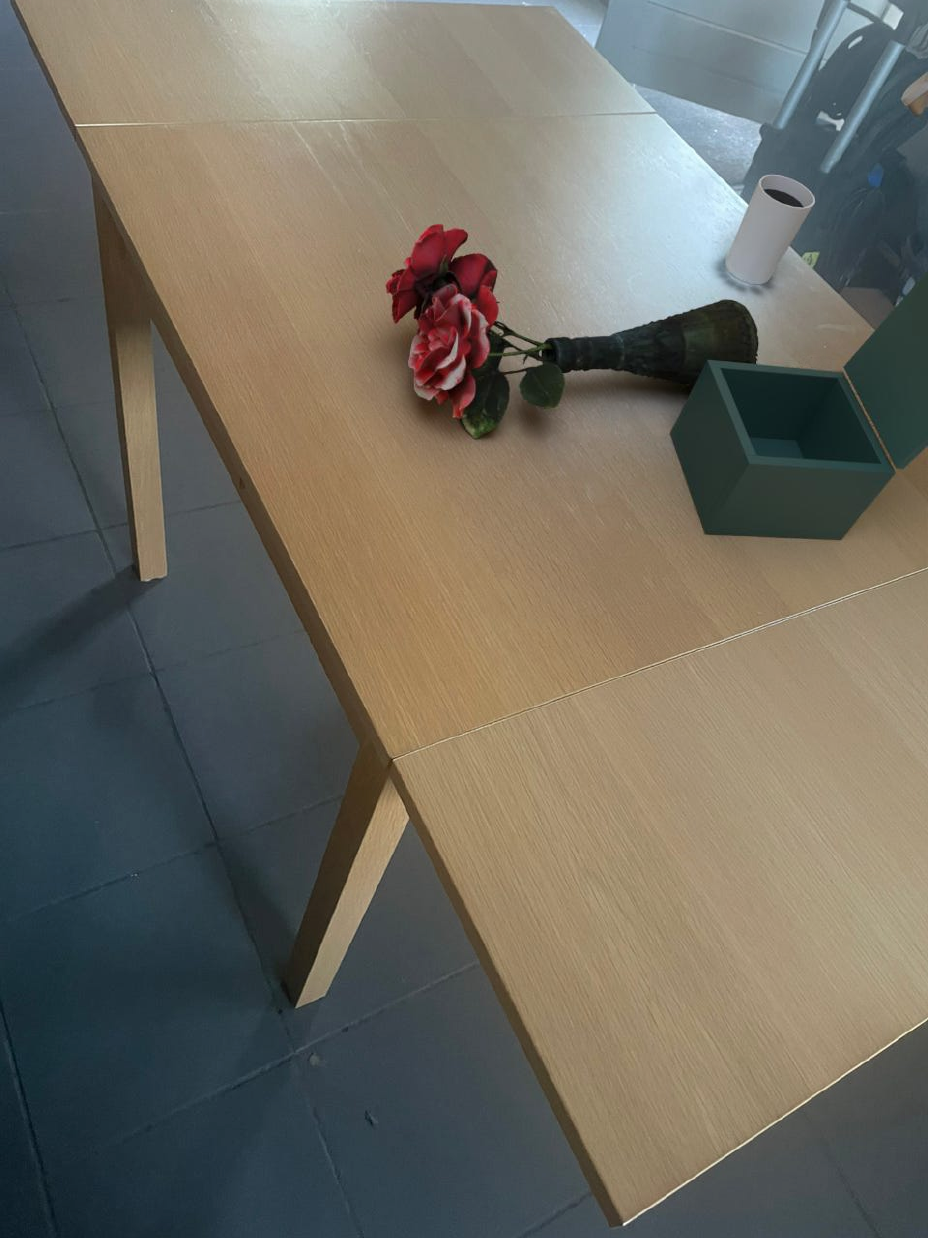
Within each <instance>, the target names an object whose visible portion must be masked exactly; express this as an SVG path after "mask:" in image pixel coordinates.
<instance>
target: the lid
mask: <svg viewBox="0 0 928 1238" xmlns="http://www.w3.org/2000/svg"><path fill="white" fill-rule="evenodd" d="M843 369H844V372H845V373H846V375H847V377H848V379H849V382H850V384H851V386H852V387H853V389H854V391H855V392H856V395H857V397H858V398H859V401H860V402H861V404H862V406H863V408H864V409H865V410H864V411H865V413H867V415H868V417H869V419H870V422H871V423H872V425H873V427H874V428H875V430H876V432H877V435H878V436H879V438H880V440H881V441H882V443H883V445H884V448H885V449H886V452H887V453H888V455H889V458H890V460H891V461H892V463H893V465H894V467H895V468H896V469H899V470H904V469H905V468H907V466H908V465H909V464H911V462H912V461H913V460H914V459H916V458H917V457H918V456H919V455H920V454H921V453H922V452H923V451H924V450H925V449H926V448H927V447H928V270H927V271H926V272H925V273H924V274H923V275H922V276H921V277H920V278H919V280H918V281H917V282H916V283H915V284H914V286H913V287H912V288H911V289H910V290H909V291H908V292H907V293H906V295H905V296H904V297H903V298H902V299H901V300H900V301H899V302H898V304H897V305H896V306H895V307H894V308H893V310H891V312H890V313H889V314H888V315H887V316H886V318H885V319H883V321H882V322H881V323H880V324H879V325H878V327H877V328H876V329H874V331H873V332H872V333H871V334H870V336H869V337H868V338H867V339H866V340H865V341H864V342H863V343H862V345H861V346H860V347H859V348H858V349H857V350H856V351H855V352H854V354H853V355H852V356H851V357H850V358H849V360H848V361H847V362H845V364H844V365H843Z"/></svg>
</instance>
